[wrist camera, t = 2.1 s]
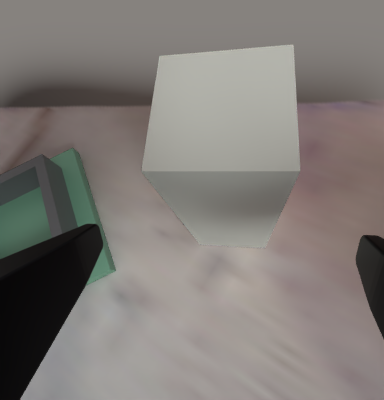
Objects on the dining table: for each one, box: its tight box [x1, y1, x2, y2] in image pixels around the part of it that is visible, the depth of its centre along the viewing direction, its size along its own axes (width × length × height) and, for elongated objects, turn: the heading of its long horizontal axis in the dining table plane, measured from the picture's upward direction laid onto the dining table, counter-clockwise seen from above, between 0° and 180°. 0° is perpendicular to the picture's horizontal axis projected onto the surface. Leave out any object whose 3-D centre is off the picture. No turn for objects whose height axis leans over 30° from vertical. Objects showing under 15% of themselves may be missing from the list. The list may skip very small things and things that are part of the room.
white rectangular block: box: [141, 45, 300, 248], centre depth 15 cm, size 5×5×13 cm
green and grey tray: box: [0, 148, 116, 285], centre depth 22 cm, size 12×12×4 cm
